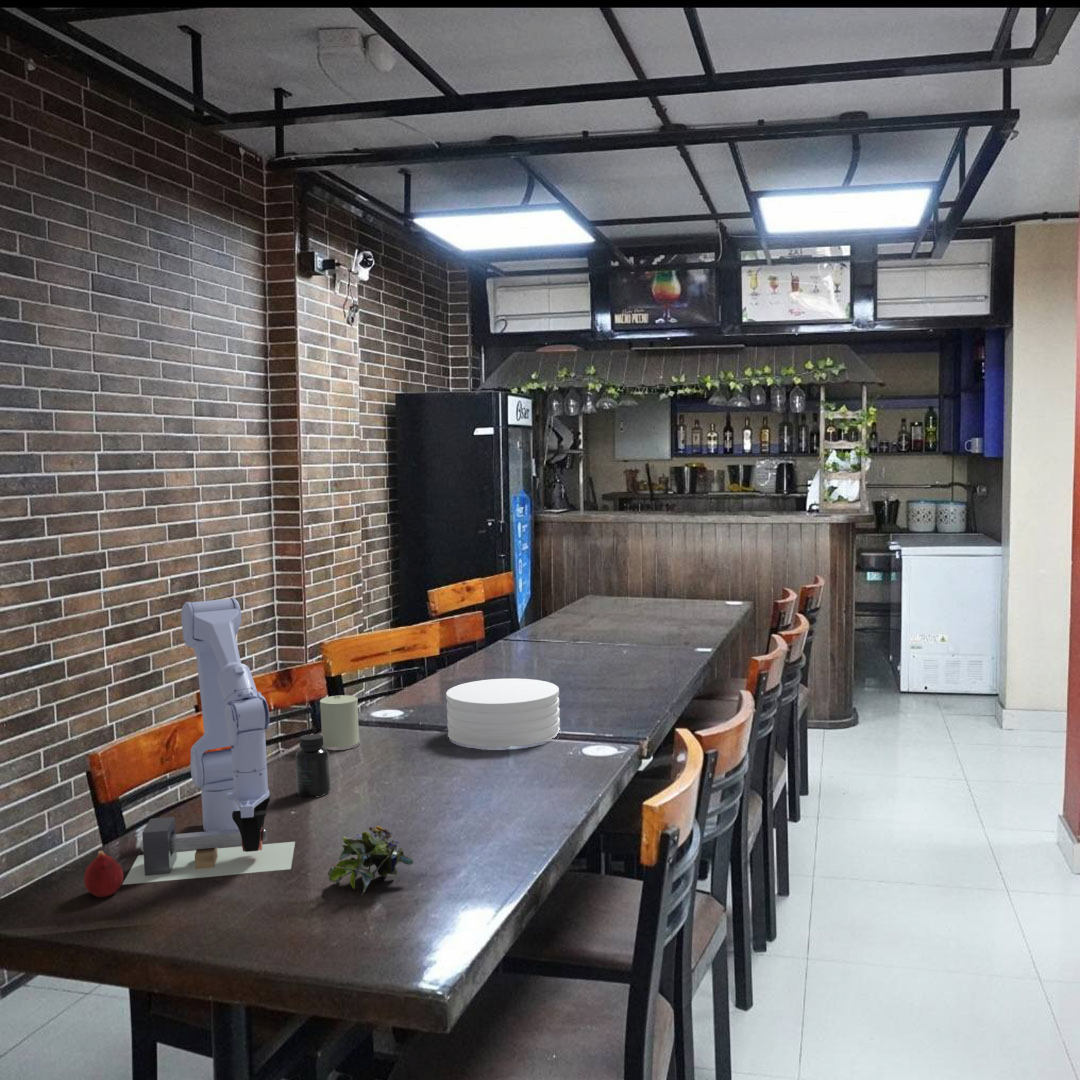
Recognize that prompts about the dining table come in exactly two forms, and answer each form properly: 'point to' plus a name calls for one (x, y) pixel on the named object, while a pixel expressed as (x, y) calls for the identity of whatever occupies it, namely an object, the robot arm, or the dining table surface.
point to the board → (220, 863)
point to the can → (339, 720)
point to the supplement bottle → (312, 767)
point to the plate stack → (503, 712)
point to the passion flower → (368, 857)
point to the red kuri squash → (103, 876)
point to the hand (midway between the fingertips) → (253, 844)
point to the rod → (209, 840)
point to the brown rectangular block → (205, 858)
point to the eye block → (158, 846)
